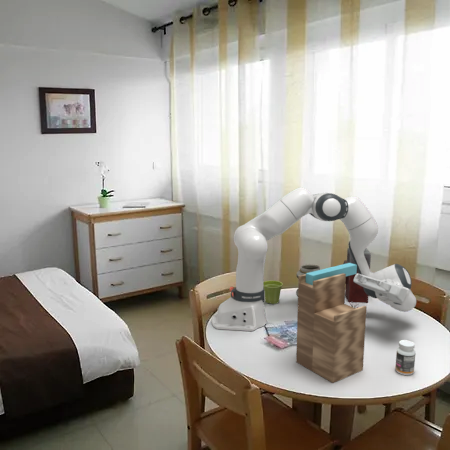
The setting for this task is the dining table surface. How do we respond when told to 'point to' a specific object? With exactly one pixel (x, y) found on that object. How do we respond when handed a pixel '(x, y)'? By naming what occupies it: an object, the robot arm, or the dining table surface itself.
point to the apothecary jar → (306, 270)
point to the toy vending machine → (353, 289)
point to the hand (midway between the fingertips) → (368, 279)
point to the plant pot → (272, 291)
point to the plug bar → (331, 272)
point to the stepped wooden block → (329, 329)
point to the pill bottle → (405, 357)
